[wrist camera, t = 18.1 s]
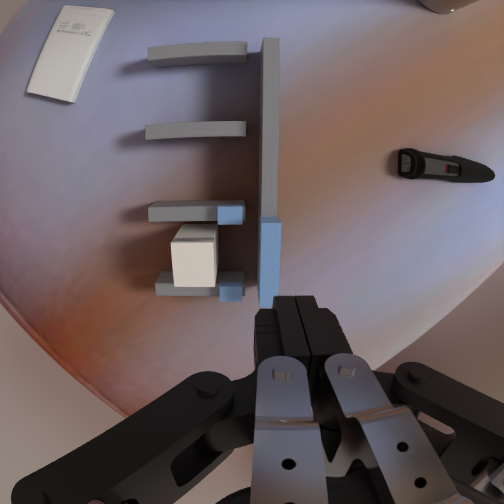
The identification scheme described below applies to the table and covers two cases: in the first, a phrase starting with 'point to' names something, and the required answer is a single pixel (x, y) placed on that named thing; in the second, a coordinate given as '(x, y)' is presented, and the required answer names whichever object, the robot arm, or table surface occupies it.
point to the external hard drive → (69, 52)
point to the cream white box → (195, 255)
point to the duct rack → (228, 211)
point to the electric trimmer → (441, 167)
